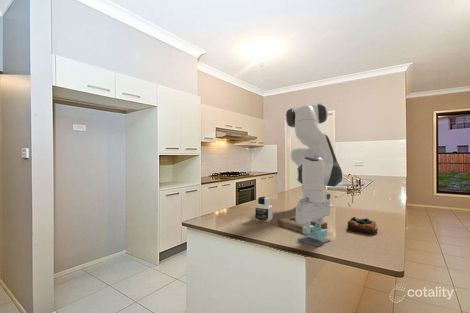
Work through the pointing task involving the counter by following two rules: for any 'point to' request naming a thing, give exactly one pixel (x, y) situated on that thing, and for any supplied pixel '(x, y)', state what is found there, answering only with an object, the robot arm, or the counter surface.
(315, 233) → the block
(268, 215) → the white black angular body
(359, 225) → the pastry
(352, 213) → the counter surface
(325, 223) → the channel board
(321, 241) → the slate mat
